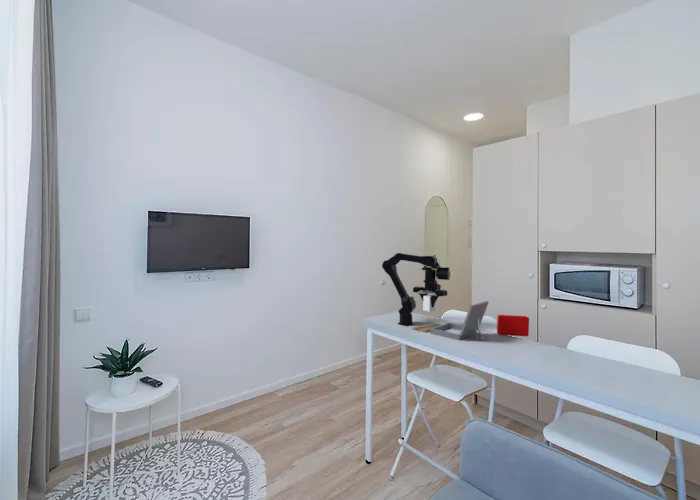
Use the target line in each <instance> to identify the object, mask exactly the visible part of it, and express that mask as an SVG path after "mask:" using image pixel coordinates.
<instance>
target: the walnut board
mask: <svg viewBox="0 0 700 500" xmlns="http://www.w3.org/2000/svg"><path fill="white" fill-rule="evenodd" d="M441 325H442V324H441V323H435V322H427V323H425V324H422V325H418V326H413V327H411V330H413V331H418V332H422V333H429V332H431V328H434V327H438V326H441Z"/></svg>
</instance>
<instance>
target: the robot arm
mask: <svg viewBox="0 0 700 500" xmlns="http://www.w3.org/2000/svg"><path fill="white" fill-rule="evenodd" d="M401 261H404V262H411V263H417V264H421V265H423V267H422V268H421V270H422V271H424V280H423V283H424V286H414V287H412V293H418V295H419V296H420V298H421V301H423V296H426V295H429V294H430V295H431V305H432V307H434V305H435V306H436V302H437V300H438V299H439V297H446V296H447V297H448V291H447V290H445V289H441V287H442V285H441V284H439V283H438V280H440V281H450V278H451V272H450V267H448V266H447V267H443V266H441V265H440V264H439V262H438V259H437V257H436V256H434V255H415V254H408V253H402V252H397V253H395V254H394V255H393V256H391V257H390V258H389V259H386V260H384V261H383V262H382V264H381V267H382V269H383V270H384V272H385V273H386V274H387V275H388V276H389V277H390V280H391V281H392V283H393V285H394V288H395V289H396V291H397V294H398V296H399V297H400V303H401V308H400V309H399V310H398V313H399V322H397V324H398V325H402V326H405V327H407V326H412V325H414V323H413V314H412V313H413V312H414V310H415V309H416V308H417V302H416V301H415V298H414V296H409V293H408V292H407V290H406V288H405V286H404V283H403V282H402V280H401V278H400V276H399V274H398V272H397V271H398V270H397V265H398V264H399V263H400V262H401ZM436 278H437V279H438V280H436Z"/></svg>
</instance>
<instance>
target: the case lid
mask: <svg viewBox="0 0 700 500" xmlns="http://www.w3.org/2000/svg"><path fill="white" fill-rule="evenodd" d="M489 303H490V302H489V301H488V300H487V301H481V302H479V303H474V304H471V305H470V306H469V308H468V311H467V314H466V316H465V319H464V321H463V325H462V326H463V327H462V330H460V333H459V334H460V336H463V335H465V334H468V333H470V332H473V331H476V330H477V331H478V325H477V319H479V324H480V325H481V323H482V321H483V318H484V316H485V314H486V310H487V308H488V305H489ZM477 331H476V332H477Z"/></svg>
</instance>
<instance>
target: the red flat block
mask: <svg viewBox="0 0 700 500" xmlns="http://www.w3.org/2000/svg"><path fill="white" fill-rule="evenodd" d="M496 316H497V319H496V322H497V323H496V334H498V335H499V336H508V337H509V336H510V337H511V336H514V337H515V336H516V337H528V336H530V335H529V331H530V317H528V316H527V315H513V314H511V315H509V314H497V315H496Z"/></svg>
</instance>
